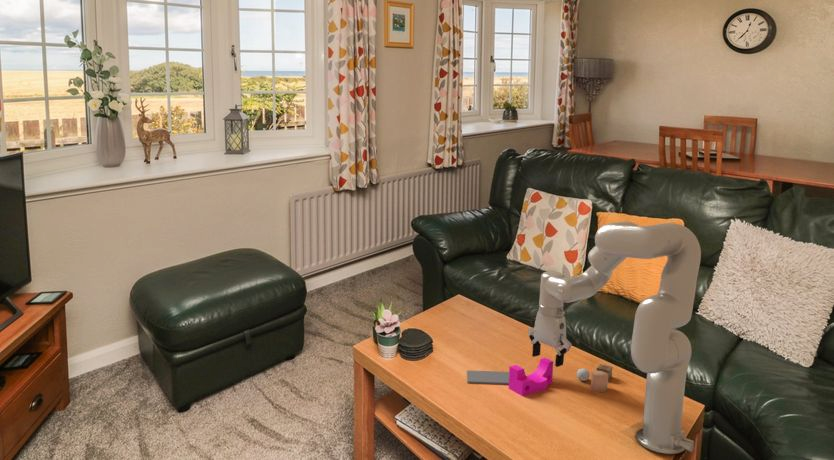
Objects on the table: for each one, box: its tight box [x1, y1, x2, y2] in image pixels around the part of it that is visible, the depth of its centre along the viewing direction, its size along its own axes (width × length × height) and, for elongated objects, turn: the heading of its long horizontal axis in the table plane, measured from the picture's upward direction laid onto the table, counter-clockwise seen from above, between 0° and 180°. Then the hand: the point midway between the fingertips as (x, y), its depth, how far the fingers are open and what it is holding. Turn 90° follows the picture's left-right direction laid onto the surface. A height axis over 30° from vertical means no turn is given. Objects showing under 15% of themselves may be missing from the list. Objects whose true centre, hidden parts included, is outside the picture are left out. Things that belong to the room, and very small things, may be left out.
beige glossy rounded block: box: [590, 370, 609, 393], centre depth 182 cm, size 5×5×5 cm
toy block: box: [508, 357, 554, 397], centre depth 182 cm, size 15×6×8 cm, turn 121°
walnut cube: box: [596, 363, 613, 383], centre depth 190 cm, size 4×4×4 cm
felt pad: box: [466, 370, 509, 386], centre depth 189 cm, size 17×9×1 cm, turn 86°
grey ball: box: [576, 368, 590, 382], centre depth 188 cm, size 4×4×4 cm
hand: (547, 360), depth 188 cm, fingers open, 9 cm apart
